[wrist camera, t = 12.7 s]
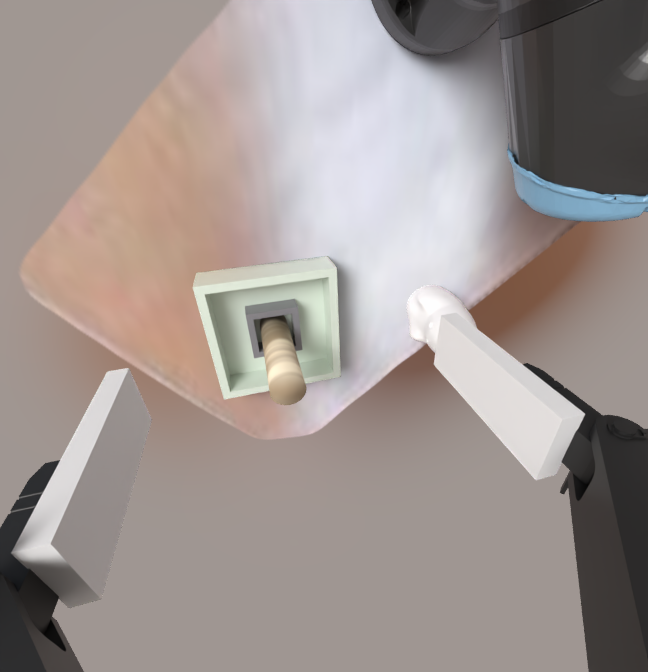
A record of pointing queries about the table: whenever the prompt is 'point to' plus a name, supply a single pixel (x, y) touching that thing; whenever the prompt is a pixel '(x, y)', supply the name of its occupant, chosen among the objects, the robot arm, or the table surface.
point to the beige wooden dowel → (281, 361)
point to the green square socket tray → (268, 301)
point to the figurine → (432, 312)
